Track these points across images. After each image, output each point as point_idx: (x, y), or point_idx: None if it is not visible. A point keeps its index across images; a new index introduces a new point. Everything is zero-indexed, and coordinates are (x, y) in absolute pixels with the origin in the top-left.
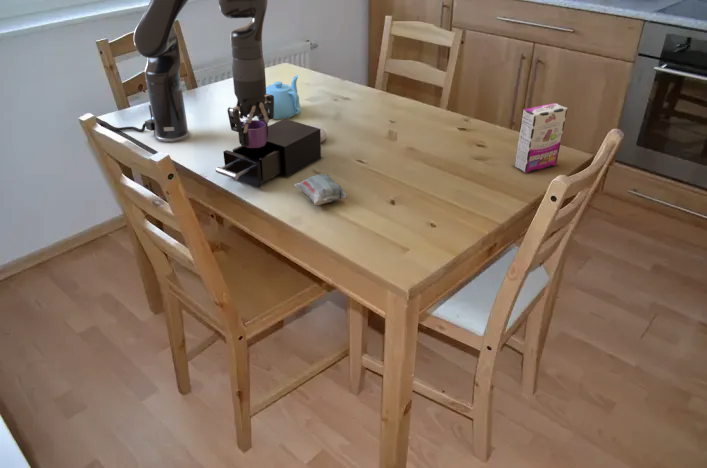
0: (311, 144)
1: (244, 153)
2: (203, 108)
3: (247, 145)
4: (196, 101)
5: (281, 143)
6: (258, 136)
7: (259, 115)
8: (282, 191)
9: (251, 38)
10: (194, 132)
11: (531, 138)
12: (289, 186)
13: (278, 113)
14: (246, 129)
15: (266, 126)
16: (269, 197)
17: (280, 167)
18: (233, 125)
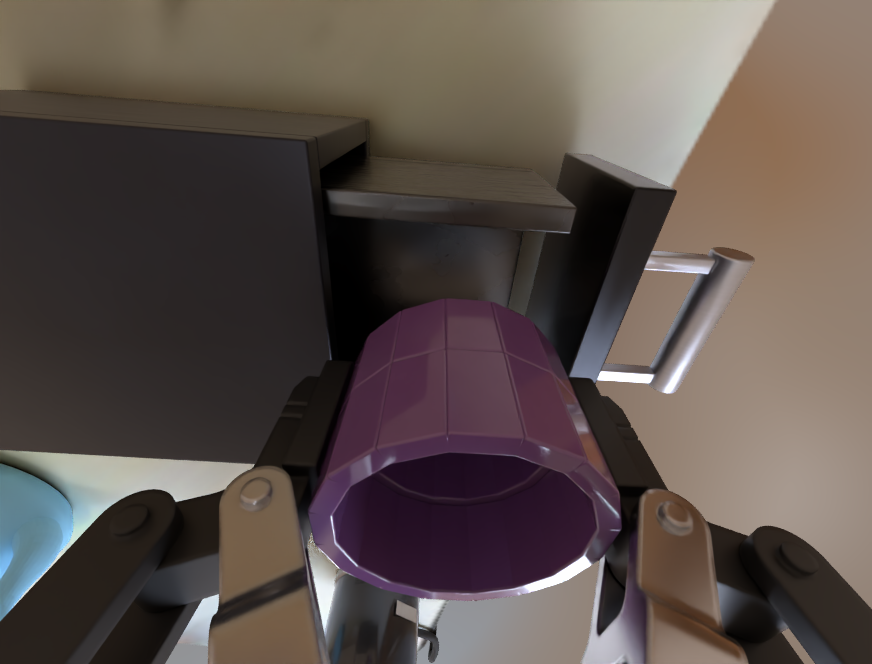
0: None
1: None
2: (210, 603)
3: (585, 380)
4: (201, 622)
5: (275, 224)
6: (537, 374)
7: (322, 635)
8: (532, 8)
9: None
10: (323, 561)
11: None
12: (451, 12)
13: (11, 496)
14: (662, 527)
15: (301, 439)
16: (635, 37)
17: (375, 161)
18: (770, 658)
